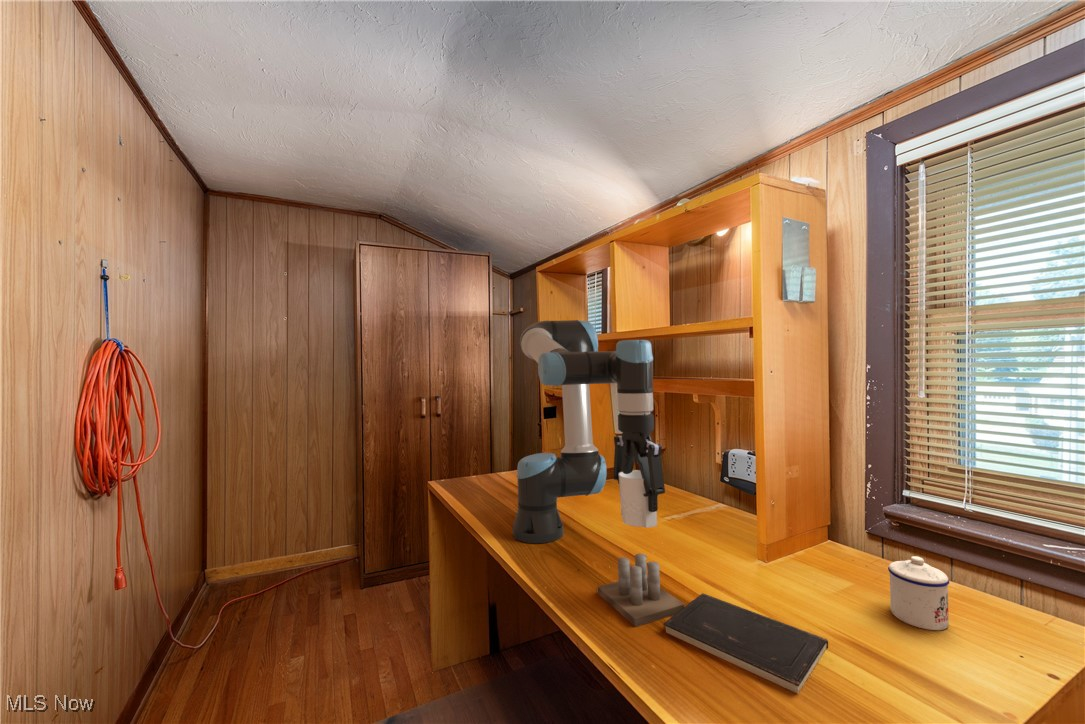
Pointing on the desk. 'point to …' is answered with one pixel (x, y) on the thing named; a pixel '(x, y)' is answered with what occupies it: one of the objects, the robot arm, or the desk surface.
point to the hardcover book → (749, 640)
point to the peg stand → (639, 593)
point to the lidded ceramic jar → (919, 594)
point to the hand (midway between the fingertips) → (638, 520)
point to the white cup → (632, 498)
